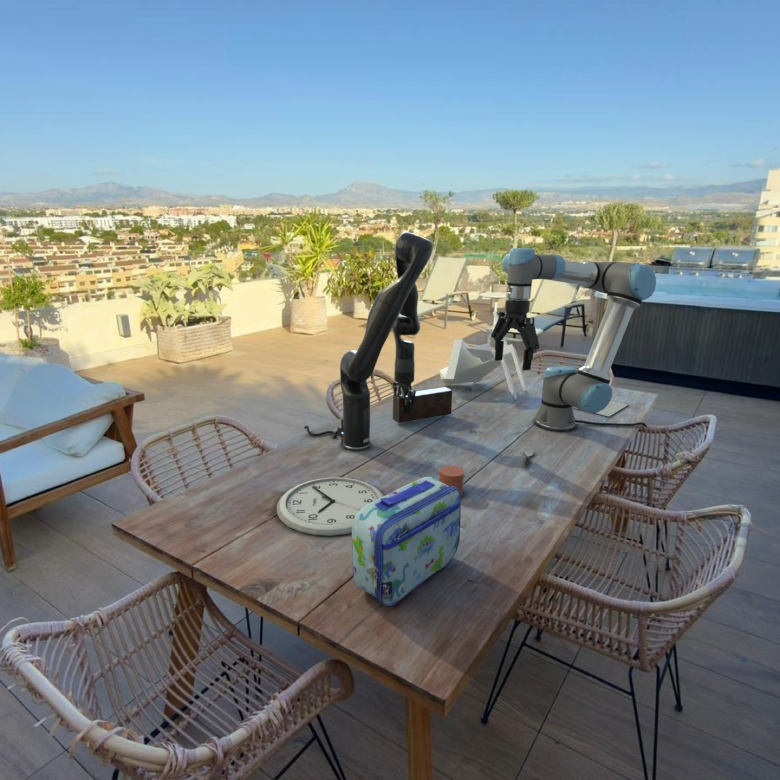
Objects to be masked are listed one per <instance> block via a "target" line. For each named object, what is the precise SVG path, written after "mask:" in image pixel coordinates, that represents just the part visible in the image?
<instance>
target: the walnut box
mask: <svg viewBox="0 0 780 780" xmlns="http://www.w3.org/2000/svg"><path fill="white" fill-rule="evenodd" d="M415 391H416V390H415ZM405 397H408V396H405ZM406 400H407V399H406ZM411 401H412V400H411ZM452 403H453V390H452V389H451V388H449V387H446V386H444V387H437V388H431V389H423V390H417V391H416V394H415V400H414V404H411V405H410V414H404V405H405V404H404V399H403V398H402V394H400V395H397V394H396V395H394V394H393V395H392V420H393V421H394V422H396V423H398V424H405V423H409V422H415V421H421V420H425V419H432V418H437V417H442V416H447V415H452V407H453V406H452V405H453V404H452Z"/></svg>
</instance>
